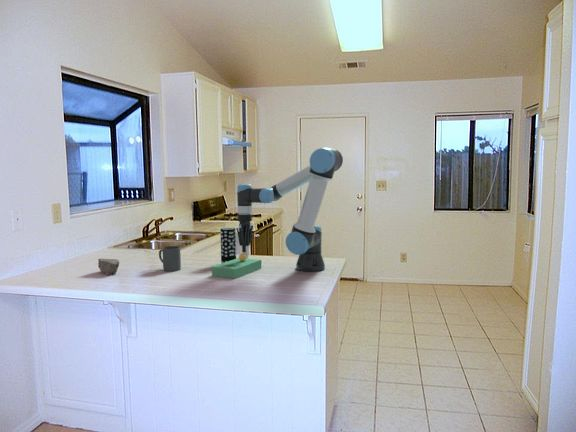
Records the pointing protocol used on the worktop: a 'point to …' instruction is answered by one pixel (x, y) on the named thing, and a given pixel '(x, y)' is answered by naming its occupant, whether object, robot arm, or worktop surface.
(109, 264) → the stone
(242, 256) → the ball
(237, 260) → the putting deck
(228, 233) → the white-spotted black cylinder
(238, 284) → the worktop surface
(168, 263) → the mug
